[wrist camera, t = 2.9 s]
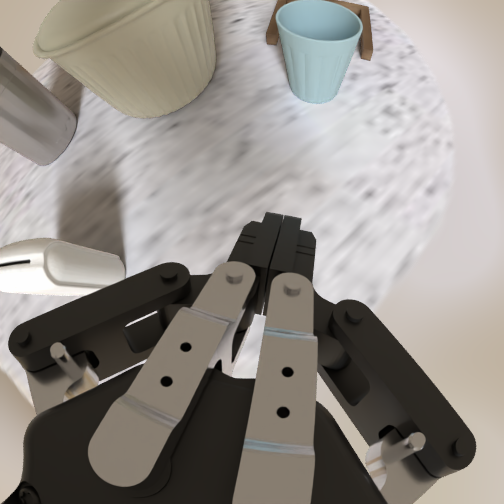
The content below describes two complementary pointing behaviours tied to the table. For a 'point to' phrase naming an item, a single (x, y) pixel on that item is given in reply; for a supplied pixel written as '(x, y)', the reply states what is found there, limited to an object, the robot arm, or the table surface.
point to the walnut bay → (359, 10)
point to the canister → (133, 50)
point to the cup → (317, 46)
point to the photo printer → (56, 268)
